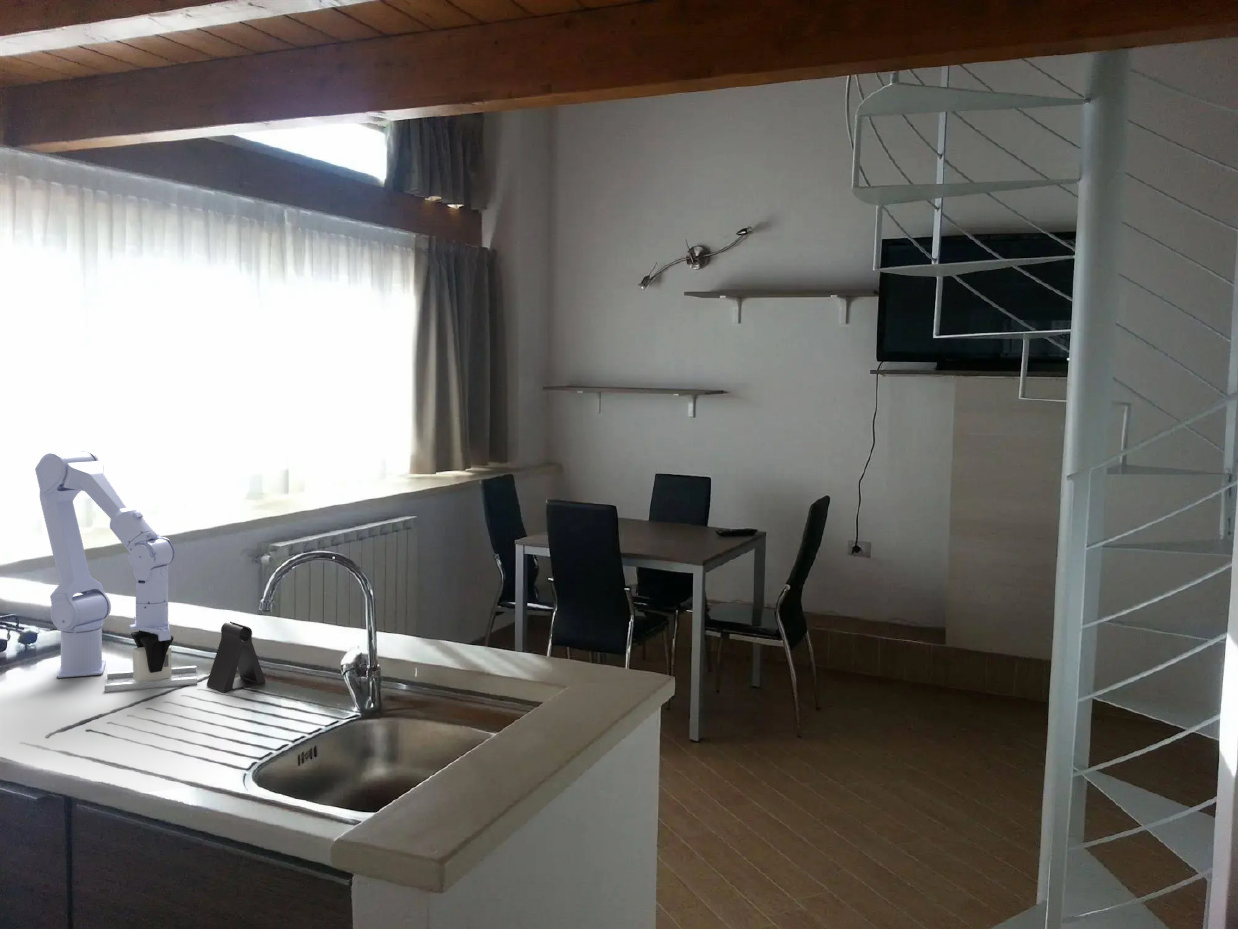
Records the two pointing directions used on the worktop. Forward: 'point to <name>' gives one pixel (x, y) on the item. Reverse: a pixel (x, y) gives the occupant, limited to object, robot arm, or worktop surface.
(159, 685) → the rail
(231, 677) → the dark grey hinged stand
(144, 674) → the door panel
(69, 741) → the worktop surface
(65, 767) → the worktop surface
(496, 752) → the worktop surface
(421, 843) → the worktop surface
